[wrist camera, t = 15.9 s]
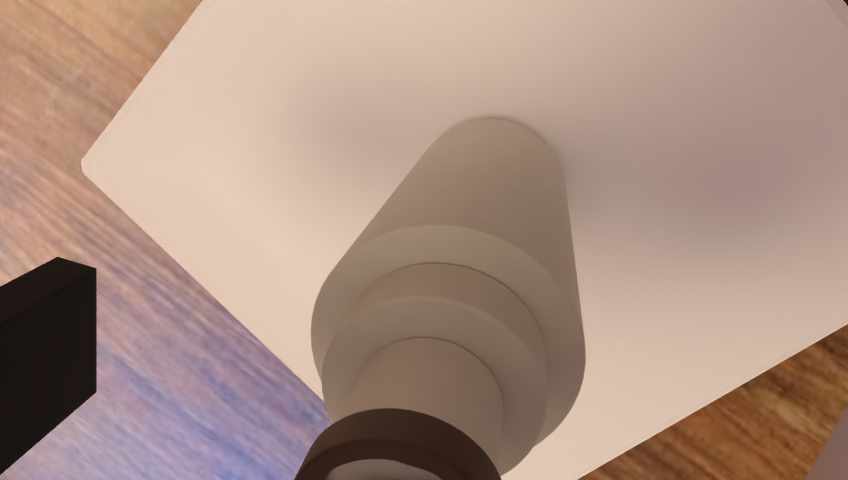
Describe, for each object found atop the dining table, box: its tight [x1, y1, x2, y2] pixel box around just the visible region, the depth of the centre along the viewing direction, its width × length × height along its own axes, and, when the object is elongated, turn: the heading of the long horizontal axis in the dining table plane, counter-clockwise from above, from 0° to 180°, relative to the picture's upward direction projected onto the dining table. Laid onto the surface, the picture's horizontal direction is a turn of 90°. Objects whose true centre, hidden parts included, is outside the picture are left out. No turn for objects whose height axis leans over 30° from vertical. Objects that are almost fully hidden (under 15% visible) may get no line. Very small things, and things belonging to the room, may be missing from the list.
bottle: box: [294, 119, 586, 480], centre depth 16 cm, size 6×6×17 cm
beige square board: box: [81, 0, 848, 480], centre depth 25 cm, size 26×26×2 cm
